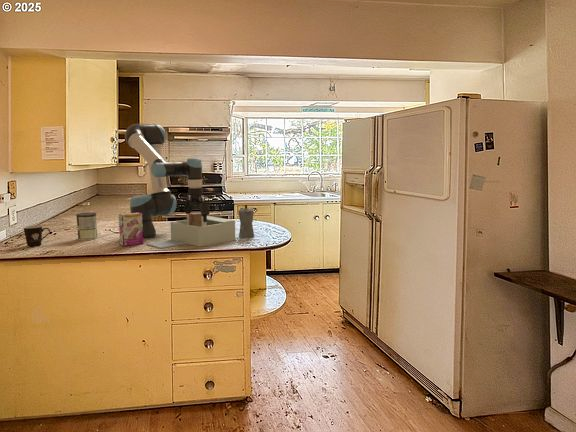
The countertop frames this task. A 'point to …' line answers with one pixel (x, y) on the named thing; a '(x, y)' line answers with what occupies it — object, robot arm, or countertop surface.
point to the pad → (165, 244)
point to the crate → (203, 232)
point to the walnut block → (195, 219)
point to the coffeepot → (246, 222)
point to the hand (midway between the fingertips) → (196, 226)
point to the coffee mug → (34, 235)
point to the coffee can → (87, 226)
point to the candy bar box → (131, 229)
